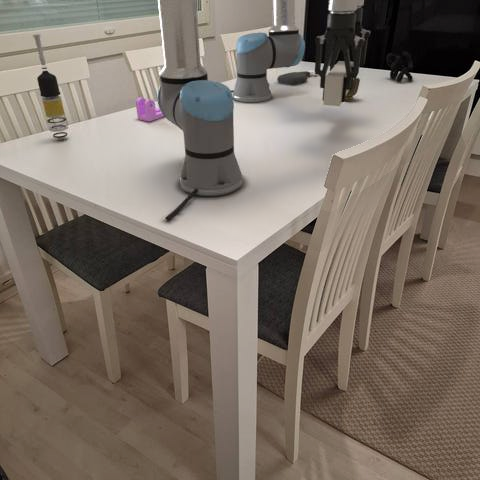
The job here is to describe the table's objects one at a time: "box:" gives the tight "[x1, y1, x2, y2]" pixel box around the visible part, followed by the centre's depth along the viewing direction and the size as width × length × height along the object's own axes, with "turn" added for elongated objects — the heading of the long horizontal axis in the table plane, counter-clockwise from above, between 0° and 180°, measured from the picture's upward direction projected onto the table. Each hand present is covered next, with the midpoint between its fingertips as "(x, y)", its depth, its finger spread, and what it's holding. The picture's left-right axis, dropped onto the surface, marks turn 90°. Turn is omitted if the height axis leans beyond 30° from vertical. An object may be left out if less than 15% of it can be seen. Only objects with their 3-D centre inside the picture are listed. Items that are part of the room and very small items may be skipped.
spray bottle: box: [276, 69, 318, 86], centre depth 204 cm, size 3×11×25 cm
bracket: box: [135, 97, 165, 122], centre depth 158 cm, size 13×6×7 cm, turn 143°
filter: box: [32, 33, 69, 140], centre depth 132 cm, size 6×6×30 cm
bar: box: [322, 60, 354, 107], centre depth 136 cm, size 23×5×8 cm, turn 160°
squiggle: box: [385, 51, 414, 83], centre depth 198 cm, size 11×10×15 cm
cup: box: [345, 77, 361, 102], centre depth 171 cm, size 8×7×8 cm
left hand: (333, 99), depth 132 cm, fingers closed on bar, 5 cm apart
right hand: (341, 87), depth 144 cm, fingers closed on bar, 5 cm apart
